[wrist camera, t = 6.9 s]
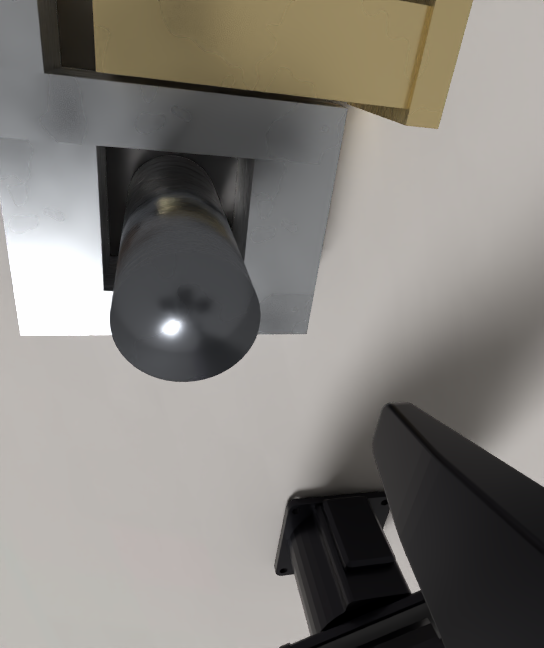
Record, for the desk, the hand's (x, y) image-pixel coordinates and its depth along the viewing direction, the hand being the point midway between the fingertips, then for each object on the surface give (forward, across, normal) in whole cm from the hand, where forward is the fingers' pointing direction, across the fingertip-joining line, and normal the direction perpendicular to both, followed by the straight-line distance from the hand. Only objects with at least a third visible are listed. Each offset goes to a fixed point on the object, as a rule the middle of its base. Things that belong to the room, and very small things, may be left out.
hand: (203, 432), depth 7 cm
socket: (+12, 0, -2) cm, 13 cm away
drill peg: (+12, 0, 0) cm, 12 cm away
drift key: (+12, -2, -5) cm, 14 cm away
